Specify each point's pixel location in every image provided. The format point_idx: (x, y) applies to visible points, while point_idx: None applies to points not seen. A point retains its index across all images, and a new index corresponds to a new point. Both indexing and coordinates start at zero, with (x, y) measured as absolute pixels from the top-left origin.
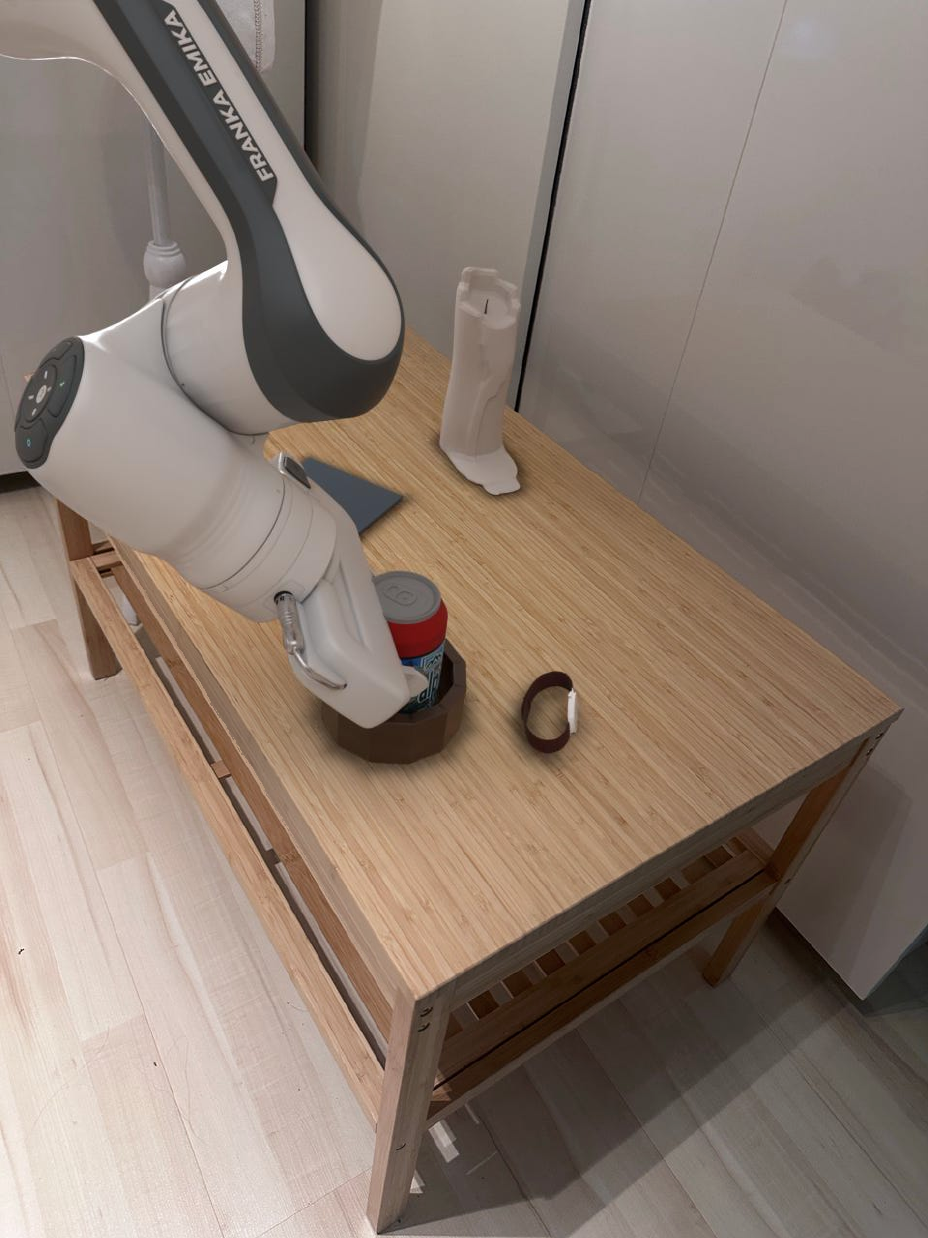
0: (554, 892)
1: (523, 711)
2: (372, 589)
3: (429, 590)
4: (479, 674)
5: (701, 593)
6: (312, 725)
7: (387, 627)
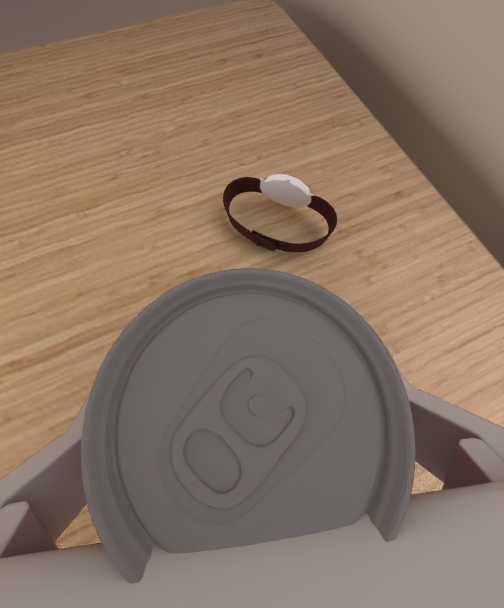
0: (488, 269)
1: (281, 242)
2: (228, 597)
3: (218, 304)
4: None
5: (106, 53)
6: None
7: (466, 515)
